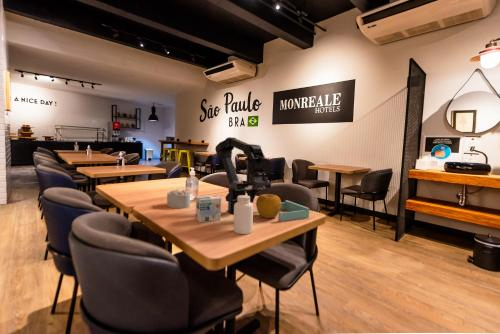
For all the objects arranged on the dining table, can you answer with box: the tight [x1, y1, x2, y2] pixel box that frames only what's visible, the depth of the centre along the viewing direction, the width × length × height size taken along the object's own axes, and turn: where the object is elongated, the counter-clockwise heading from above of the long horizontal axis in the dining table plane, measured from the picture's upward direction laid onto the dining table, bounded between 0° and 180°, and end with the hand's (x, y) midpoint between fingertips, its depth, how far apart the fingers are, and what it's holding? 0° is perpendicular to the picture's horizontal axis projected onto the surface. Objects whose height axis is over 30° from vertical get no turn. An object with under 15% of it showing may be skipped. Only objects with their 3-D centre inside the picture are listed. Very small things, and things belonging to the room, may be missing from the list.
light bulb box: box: [195, 195, 222, 223], centre depth 125 cm, size 11×7×11 cm, turn 117°
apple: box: [255, 193, 282, 219], centre depth 134 cm, size 13×13×11 cm
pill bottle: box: [233, 194, 254, 235], centre depth 110 cm, size 8×8×15 cm
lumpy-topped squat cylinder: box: [166, 189, 191, 209], centre depth 148 cm, size 10×13×9 cm
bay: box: [277, 200, 310, 223], centre depth 138 cm, size 18×20×5 cm
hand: (251, 202), depth 129 cm, fingers closed
